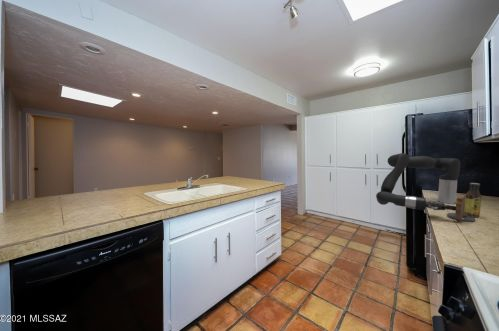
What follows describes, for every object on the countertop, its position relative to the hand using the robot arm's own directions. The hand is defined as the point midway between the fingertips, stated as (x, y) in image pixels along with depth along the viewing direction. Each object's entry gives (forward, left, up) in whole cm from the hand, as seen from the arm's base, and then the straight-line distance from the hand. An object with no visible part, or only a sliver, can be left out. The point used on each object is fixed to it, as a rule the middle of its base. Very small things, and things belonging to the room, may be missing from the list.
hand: (456, 208), depth 104 cm
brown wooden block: (-4, +2, -6) cm, 7 cm away
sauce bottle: (-18, +9, -8) cm, 22 cm away
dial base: (-8, +3, -7) cm, 11 cm away
